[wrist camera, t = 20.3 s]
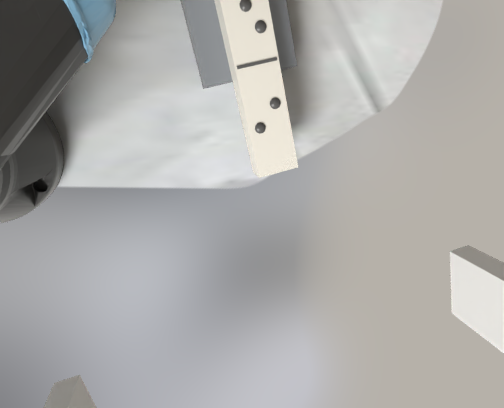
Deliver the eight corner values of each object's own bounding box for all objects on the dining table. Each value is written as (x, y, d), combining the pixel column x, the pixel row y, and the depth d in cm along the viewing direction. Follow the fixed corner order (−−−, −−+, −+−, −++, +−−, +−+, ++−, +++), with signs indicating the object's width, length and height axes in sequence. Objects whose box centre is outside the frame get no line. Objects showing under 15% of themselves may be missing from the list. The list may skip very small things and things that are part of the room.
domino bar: (253, 172, 38) (259, 177, 36) (202, -54, 31) (204, -70, 28) (289, 162, 39) (298, 167, 36) (247, -62, 32) (254, -79, 29)
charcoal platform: (203, 88, 39) (206, 87, 35) (166, -55, 34) (165, -75, 30) (285, 69, 40) (297, 65, 36) (260, -72, 35) (270, -93, 32)
